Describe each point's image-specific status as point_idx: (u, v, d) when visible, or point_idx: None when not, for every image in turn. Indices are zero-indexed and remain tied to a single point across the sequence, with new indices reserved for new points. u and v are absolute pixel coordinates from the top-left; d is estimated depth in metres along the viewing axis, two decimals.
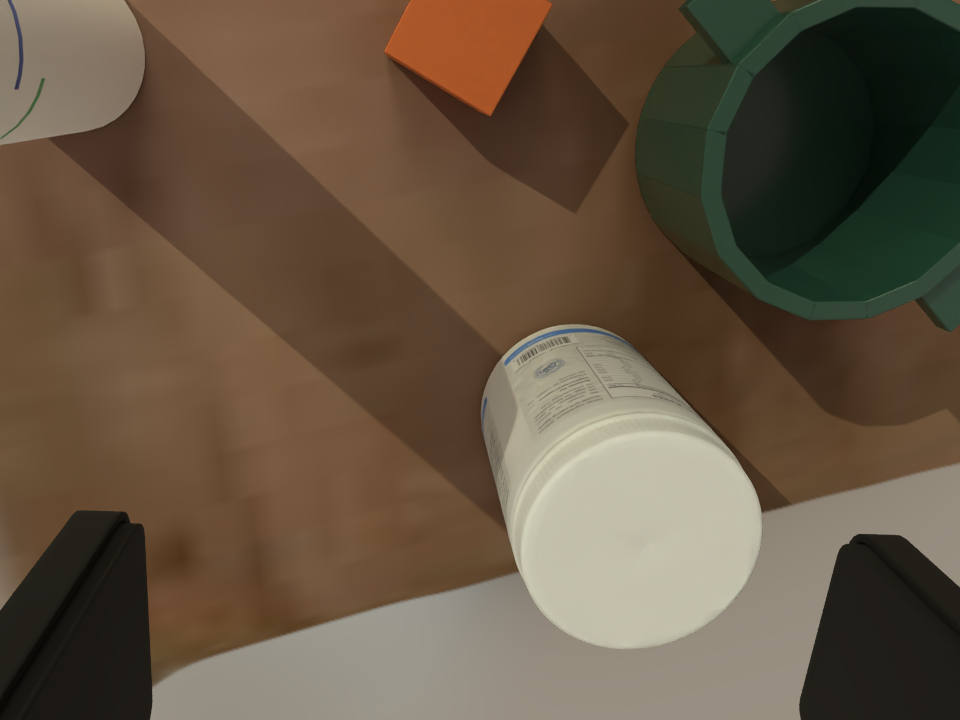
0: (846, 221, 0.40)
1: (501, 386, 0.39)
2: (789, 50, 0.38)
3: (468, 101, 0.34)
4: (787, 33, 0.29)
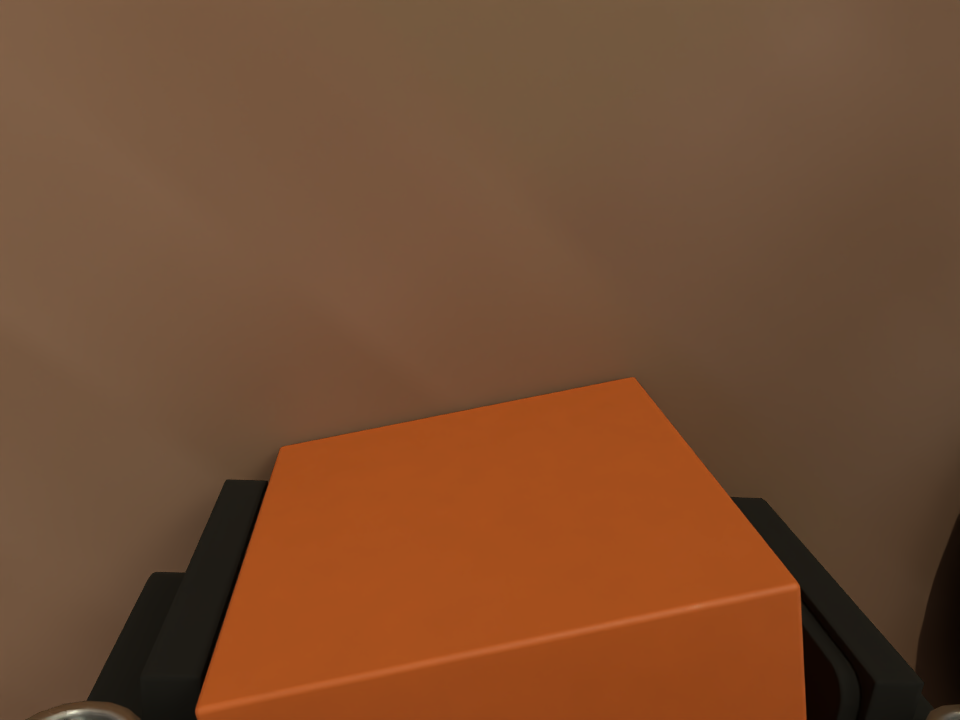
0: None
1: None
2: None
3: None
4: None
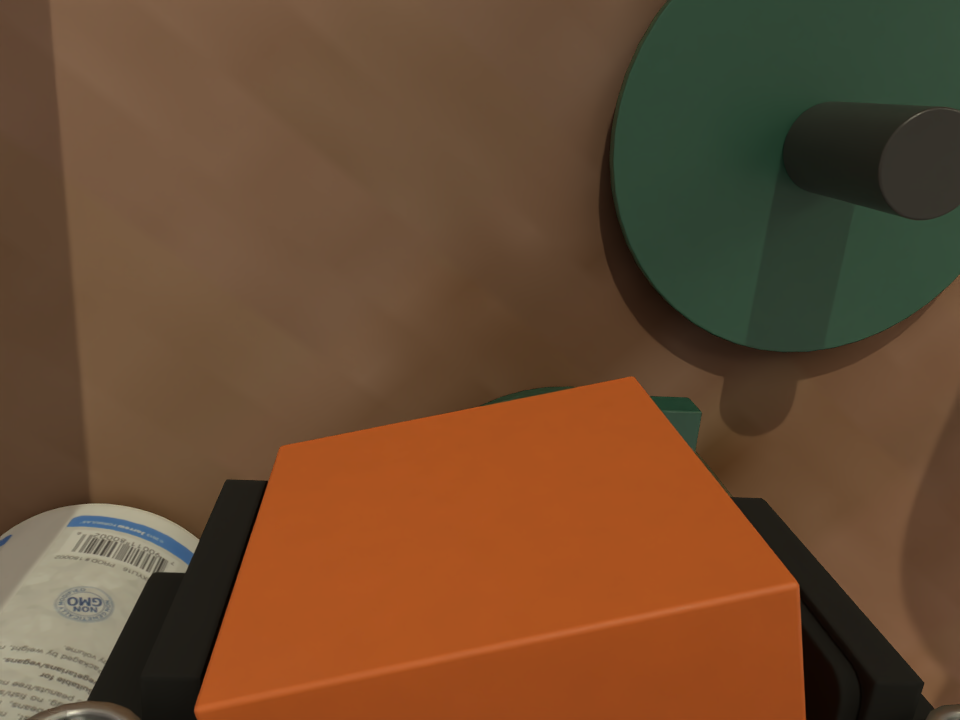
0: None
1: (27, 553, 0.25)
2: None
3: None
4: None
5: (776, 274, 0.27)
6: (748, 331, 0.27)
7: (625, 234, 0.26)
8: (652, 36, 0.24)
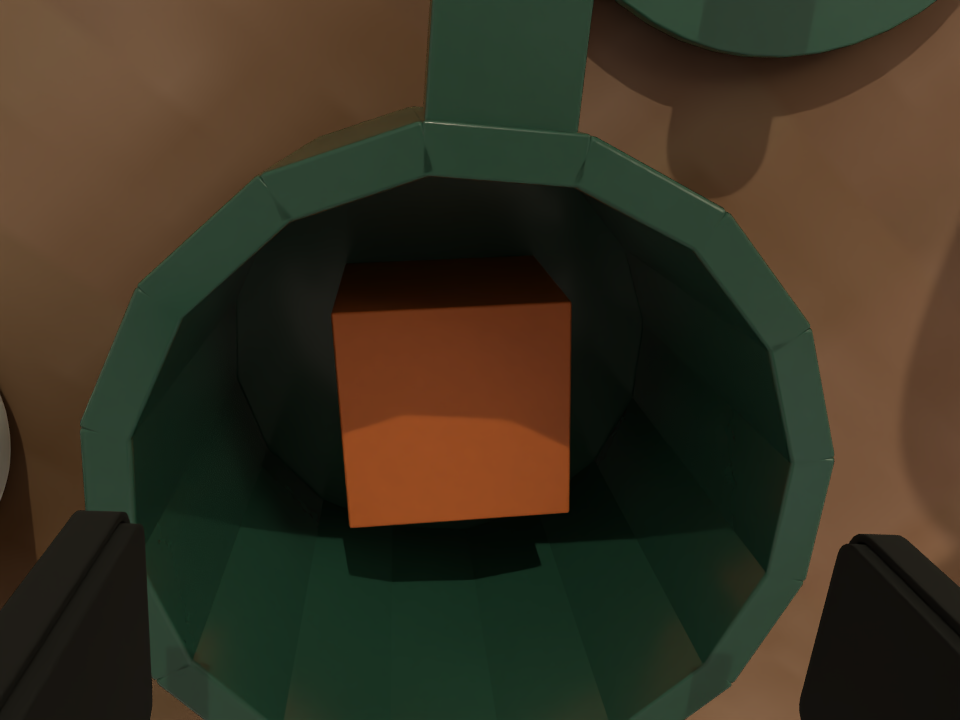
0: (445, 547, 0.23)
1: None
2: (582, 266, 0.22)
3: (348, 484, 0.18)
4: (551, 164, 0.12)
5: None
6: (702, 20, 0.20)
7: None
8: None
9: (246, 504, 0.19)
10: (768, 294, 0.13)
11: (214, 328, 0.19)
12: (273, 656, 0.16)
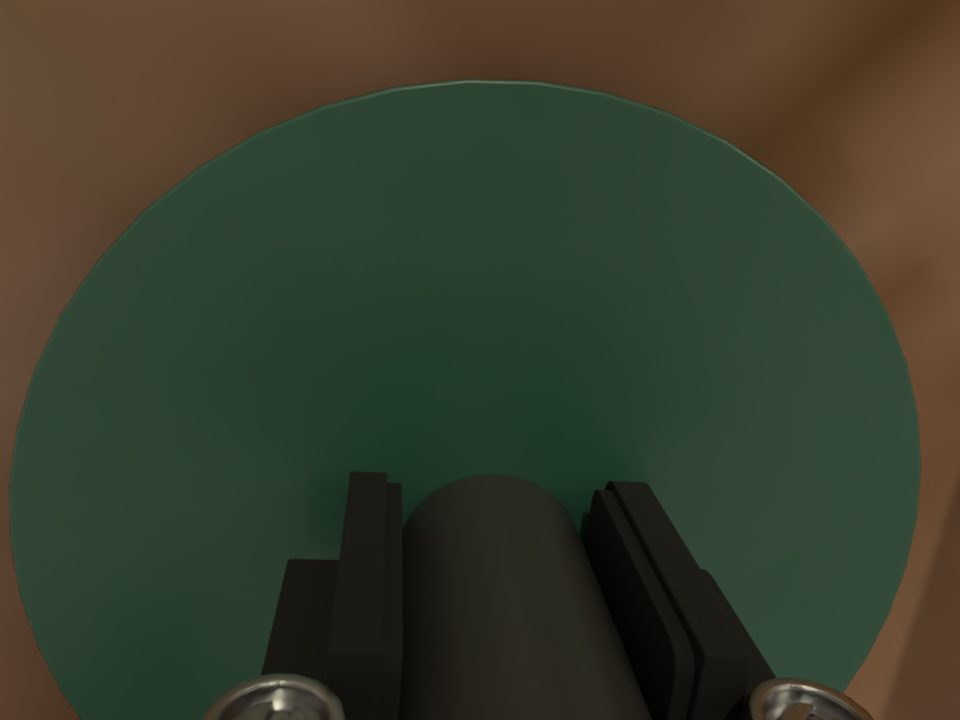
0: None
1: None
2: None
3: None
4: None
5: None
6: None
7: (83, 717, 0.13)
8: (49, 359, 0.11)
9: None
10: None
11: None
12: None
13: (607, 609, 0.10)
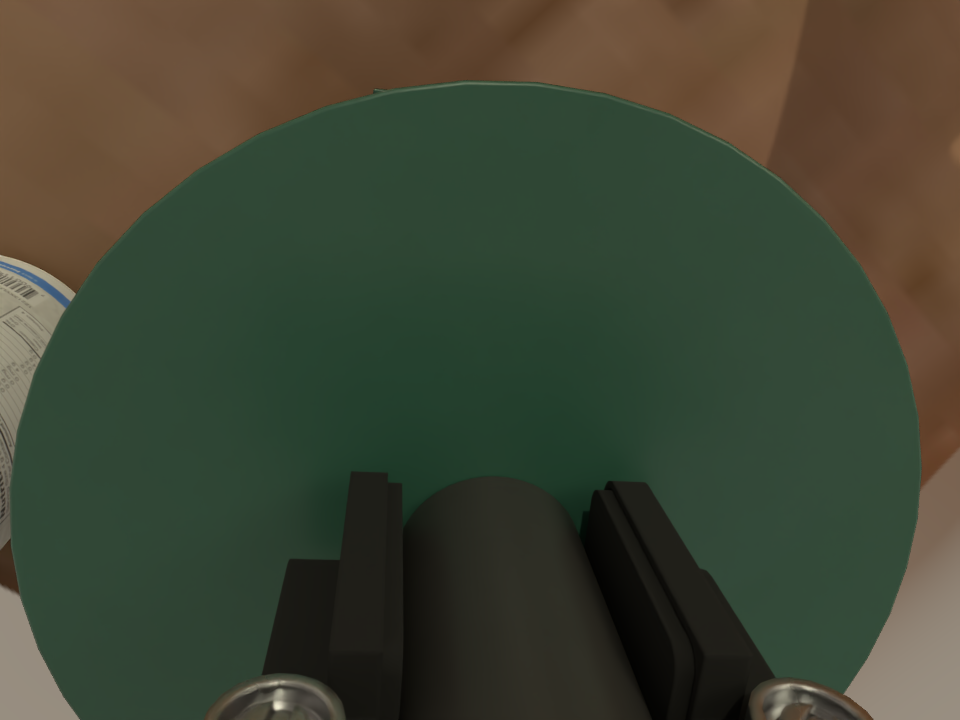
0: None
1: None
2: None
3: None
4: None
5: None
6: None
7: (83, 719, 0.13)
8: (49, 361, 0.11)
9: None
10: None
11: None
12: None
13: (608, 611, 0.10)
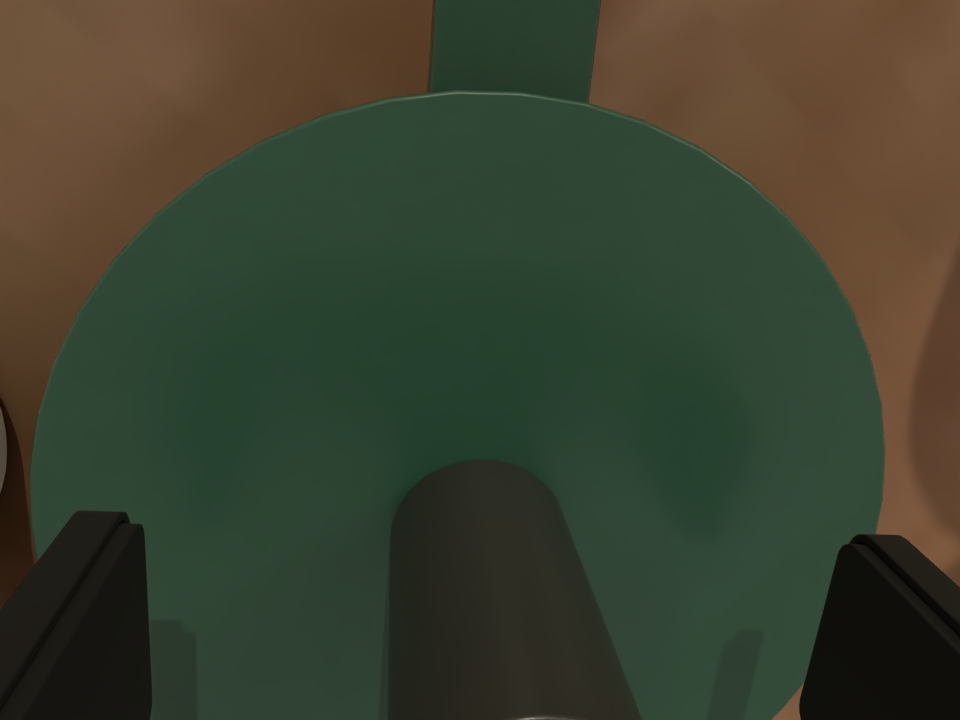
0: None
1: None
2: None
3: None
4: None
5: None
6: None
7: None
8: (69, 351, 0.11)
9: None
10: None
11: None
12: None
13: (587, 581, 0.11)
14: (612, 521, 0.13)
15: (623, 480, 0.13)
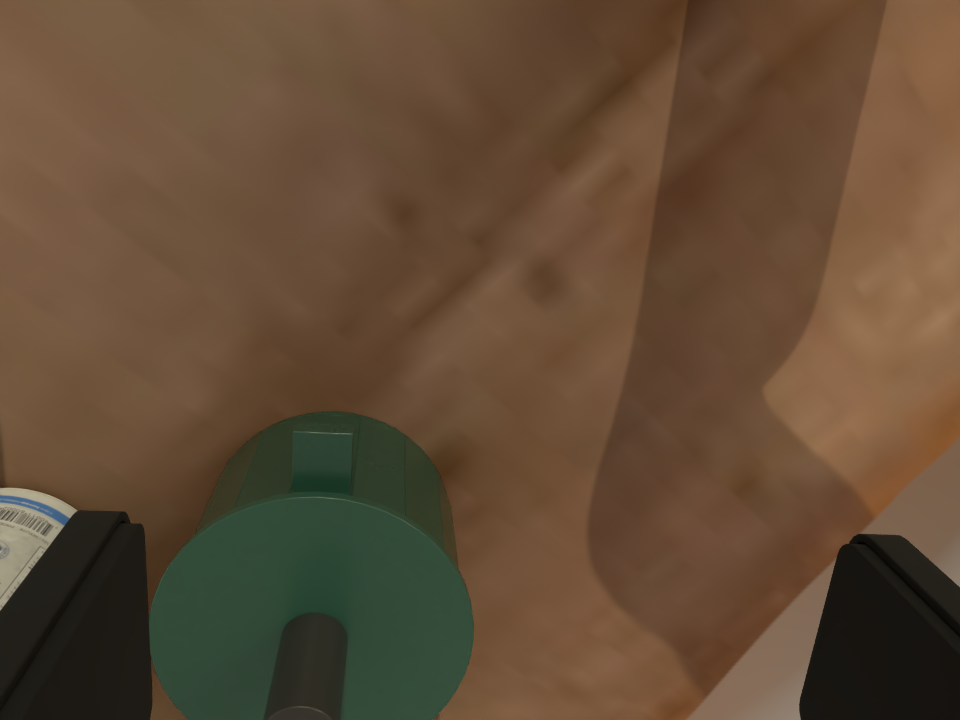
0: None
1: None
2: None
3: None
4: None
5: None
6: None
7: (170, 697, 0.35)
8: (164, 580, 0.33)
9: None
10: None
11: None
12: None
13: (338, 662, 0.32)
14: (366, 633, 0.35)
15: (368, 618, 0.34)
